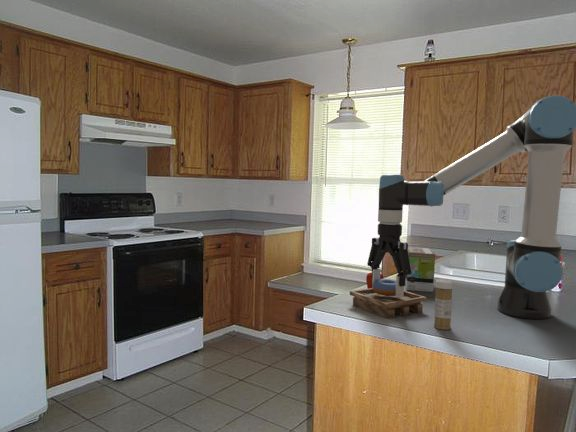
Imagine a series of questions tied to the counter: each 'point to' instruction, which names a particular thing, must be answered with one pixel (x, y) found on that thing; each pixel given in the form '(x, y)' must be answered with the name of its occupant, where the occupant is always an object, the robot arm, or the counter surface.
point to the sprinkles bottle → (443, 304)
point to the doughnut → (385, 287)
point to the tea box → (421, 270)
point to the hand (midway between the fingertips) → (387, 292)
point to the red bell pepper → (369, 280)
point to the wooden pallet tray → (387, 302)
